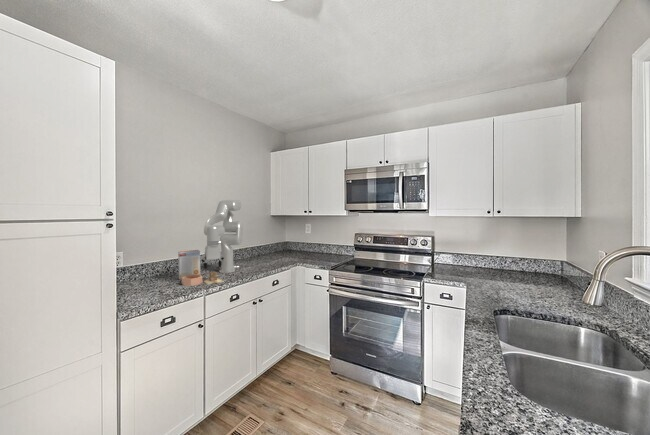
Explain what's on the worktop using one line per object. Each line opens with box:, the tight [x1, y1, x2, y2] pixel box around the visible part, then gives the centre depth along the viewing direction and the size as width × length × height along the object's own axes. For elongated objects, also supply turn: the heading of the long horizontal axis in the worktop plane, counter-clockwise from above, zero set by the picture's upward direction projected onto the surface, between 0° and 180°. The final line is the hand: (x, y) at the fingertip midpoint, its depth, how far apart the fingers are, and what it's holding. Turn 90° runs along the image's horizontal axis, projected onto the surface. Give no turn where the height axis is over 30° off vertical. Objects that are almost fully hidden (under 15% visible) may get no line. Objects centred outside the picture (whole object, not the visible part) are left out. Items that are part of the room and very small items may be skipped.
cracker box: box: [177, 249, 201, 281], centre depth 201 cm, size 14×6×21 cm, turn 129°
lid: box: [203, 271, 223, 285], centre depth 190 cm, size 12×12×6 cm
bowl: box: [181, 274, 203, 287], centre depth 186 cm, size 12×12×5 cm
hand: (212, 267), depth 189 cm, fingers open, 9 cm apart
